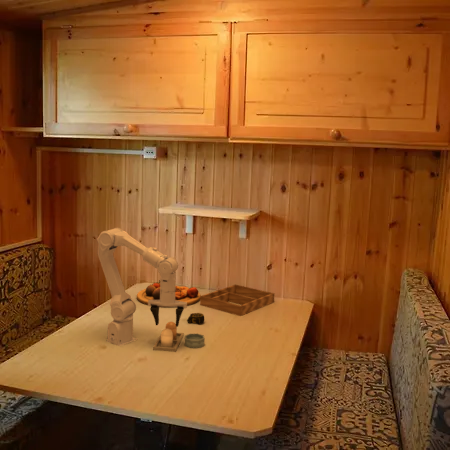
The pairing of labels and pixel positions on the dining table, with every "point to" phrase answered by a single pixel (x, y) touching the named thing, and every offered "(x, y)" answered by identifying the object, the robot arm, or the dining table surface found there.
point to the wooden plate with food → (180, 294)
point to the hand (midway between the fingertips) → (167, 325)
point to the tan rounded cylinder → (167, 338)
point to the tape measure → (196, 318)
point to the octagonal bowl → (194, 340)
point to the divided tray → (173, 349)
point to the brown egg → (172, 329)
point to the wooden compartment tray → (237, 299)
